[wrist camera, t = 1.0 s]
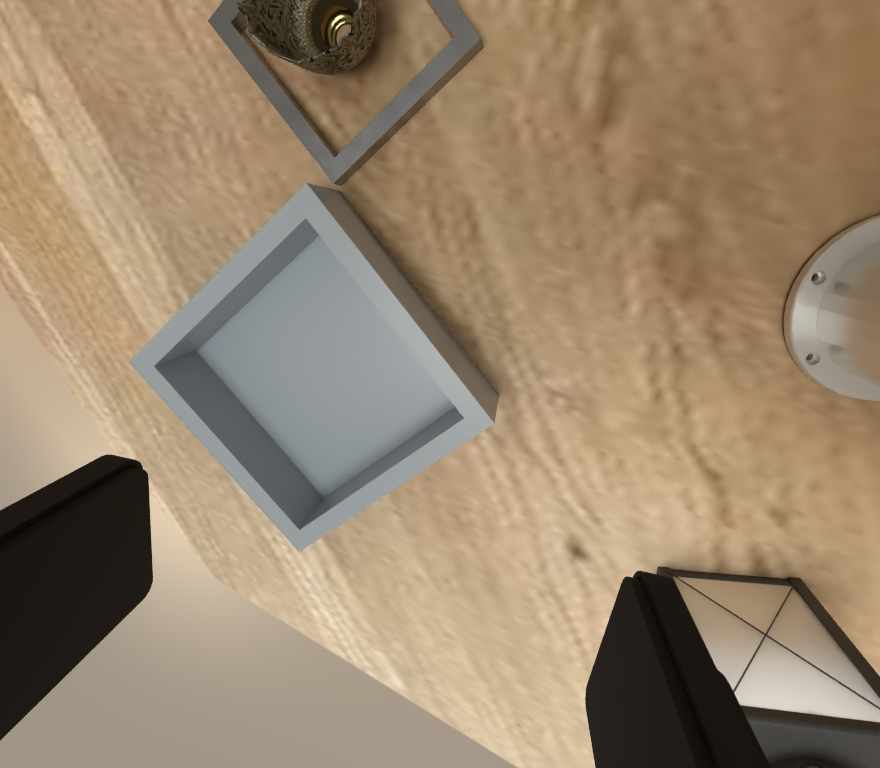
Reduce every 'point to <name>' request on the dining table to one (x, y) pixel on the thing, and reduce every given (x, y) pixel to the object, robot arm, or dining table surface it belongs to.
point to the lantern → (787, 668)
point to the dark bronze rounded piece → (313, 31)
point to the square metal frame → (387, 121)
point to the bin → (316, 369)
